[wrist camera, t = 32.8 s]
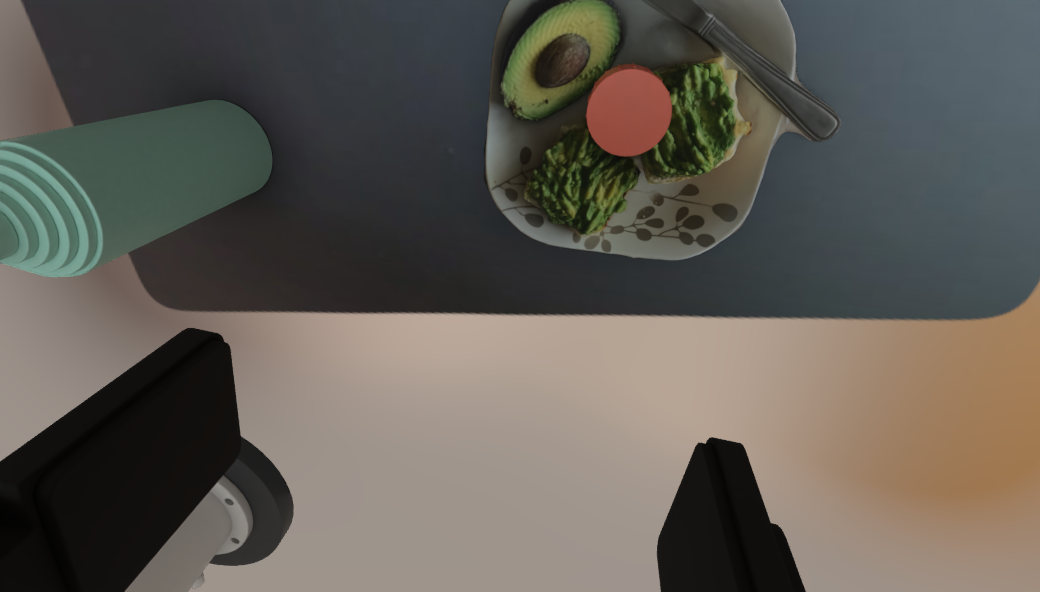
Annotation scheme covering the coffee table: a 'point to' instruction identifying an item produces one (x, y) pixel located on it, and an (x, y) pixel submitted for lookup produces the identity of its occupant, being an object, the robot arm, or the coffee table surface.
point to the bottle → (123, 183)
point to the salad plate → (683, 149)
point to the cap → (628, 110)
